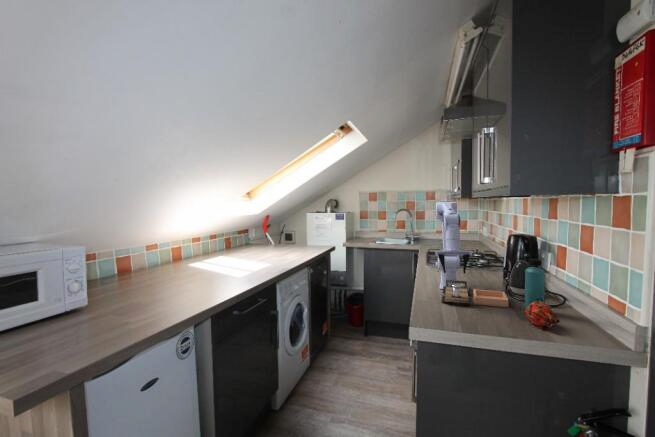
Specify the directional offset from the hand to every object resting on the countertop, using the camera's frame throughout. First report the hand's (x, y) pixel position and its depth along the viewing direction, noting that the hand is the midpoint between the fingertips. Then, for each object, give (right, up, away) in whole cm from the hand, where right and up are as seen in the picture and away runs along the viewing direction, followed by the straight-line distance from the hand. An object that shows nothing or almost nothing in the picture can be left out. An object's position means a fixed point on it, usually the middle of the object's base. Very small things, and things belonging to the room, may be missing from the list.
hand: (454, 272), depth 130 cm
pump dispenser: (+35, -12, +11) cm, 38 cm away
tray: (+15, -12, +1) cm, 20 cm away
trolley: (+3, -12, +6) cm, 14 cm away
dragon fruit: (+20, -14, -24) cm, 34 cm away
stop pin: (+1, -13, +1) cm, 13 cm away
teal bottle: (+26, -13, -11) cm, 31 cm away
